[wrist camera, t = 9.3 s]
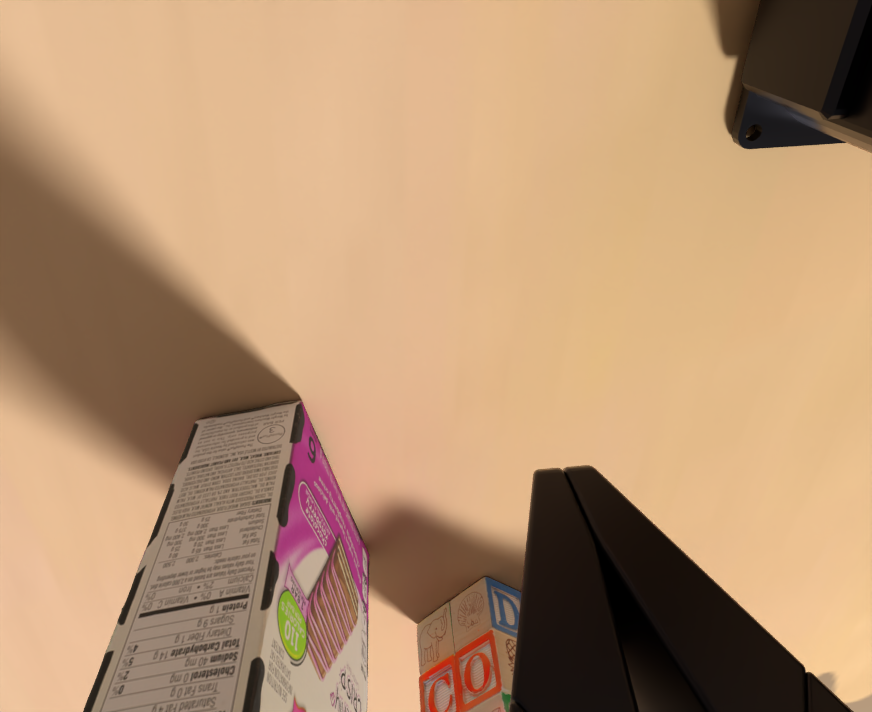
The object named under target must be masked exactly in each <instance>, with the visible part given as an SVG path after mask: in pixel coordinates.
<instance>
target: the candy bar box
mask: <svg viewBox="0 0 872 712" xmlns="http://www.w3.org/2000/svg"><path fill="white" fill-rule="evenodd" d="M368 592H369V553H368V551H367V549H366V546H365V544H364V542H363V540H362V538H361V536H360V533H359V531H358V529H357V526H356V524H355V522H354V520H353V518H352V516H351V514H350V511H349V509H348V507H347V505H346V502H345V500H344V497H343V495H342V493H341V490H340V488H339V486H338V483H337V481H336V479H335V477H334V474H333V472H332V470H331V468H330V465H329V463H328V461H327V459H326V456H325V454H324V452H323V449H322V447H321V444H320V442H319V440H318V438H317V435H316V433H315V431H314V429H313V426H312V424H311V421H310V419H309V417H308V414H307V412H306V410H305V407H304V405H303V402H302V401H300V400H299V401H289V402H284V403H277V404H272V405H269V406H265V407H262V408H257V409H253V410H248V411H243V412H236V413H230V414H225V415H219V416H214V417H210V418H205V419H199V420H197V421H195V423H194V426H193V429H192V431H191V434H190V437H189V439H188V442H187V445H186V447H185V449H184V452H183V454H182V457H181V460H180V462H179V465H178V467H177V470H176V472H175V475H174V477H173V480H172V483H171V485H170V488H169V491H168V494H167V496H166V499H165V501H164V504H163V506H162V509H161V511H160V514H159V517H158V520H157V522H156V525H155V527H154V530H153V533H152V535H151V538H150V541H149V543H148V546H147V548H146V550H145V552H144V555H143V558H142V560H141V562H140V565H139V568H138V570H137V573H136V576H135V578H134V581H133V584H132V587H131V590H130V592H129V595H128V598H127V600H126V602H125V605H124V606H123V608H122V612H121V614H120V616H119V619H118V622H117V625H116V627H115V630H114V632H113V635H112V638H111V640H110V643H109V645H108V648H107V650H106V653H105V655H104V658H103V661H102V664H101V667H100V670H99V672H98V675H97V678H96V680H95V683H94V685H93V688H92V690H91V693H90V695H89V697H88V700H87V703H86V705H85V708H84V711H83V712H367V700H368Z"/></svg>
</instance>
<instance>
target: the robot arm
mask: <svg viewBox="0 0 872 712" xmlns="http://www.w3.org/2000/svg"><path fill="white" fill-rule="evenodd" d="M741 82H742V84H743V89H742V93H741V97H740V101H739V105H738V109H737V113H736V117H735V121H734V125H733V129H732V138H733V141H734V142H735V143H736V144H738V145H739V146H741V147H743V148H746V149H757V148H773V147H788V146H803V145H819V144H834V143H849V144H851V145H854V146H856V147H858V148H861V149H863V150H865V151H868V152H870V153H872V0H761V1H760V5H759V9H758V13H757V17H756V21H755V25H754V29H753V33H752V37H751V41H750V45H749V49H748V53H747V57H746V61H745V65H744V70H743V74H742V78H741ZM752 125H755V131H754V132H753V134H752V135H751V136H749V137H746V132H747V130H748V129H749V128H750V127H751V126H752ZM509 712H853V711H852V710H851V709H850V708H849V707H848V706H847V705H845V704H844V703H843V702H842V701H841V700H840V699H839V698H838V697H837V696H836V695H835V694H834V693H833V692H832V691H831V690H829V689H828V688H827V687H826V686H825V685H824V684H823V683H822V682H821V681H820V680H819V679H818V678H817V677H816V676H815V675H814V674H812V673H811V672H806V671H805V667H804V665H803V664H802V663H801V662H799V661H798V660H797V659H796V658H795V657H794V656H793V655H792V654H791V653H790V652H789V651H788V650H787V649H786V648H785V647H784V646H783V645H781V644H780V643H779V642H778V641H777V640H776V639H775V638H774V637H773V636H772V635H771V634H770V633H769V632H768V631H767V630H766V629H765V628H763V627H762V626H761V625H760V624H759V623H758V622H757V621H756V620H755V619H754V618H753V617H752V616H751V615H750V614H749V613H748V612H747V611H745V610H744V609H743V608H742V607H741V606H740V605H739V604H738V603H737V602H736V601H735V600H734V599H733V598H732V597H731V596H730V595H729V594H728V593H726V592H725V591H724V590H723V589H722V588H721V587H720V586H719V585H718V584H717V583H716V582H715V581H714V580H713V579H712V578H711V577H710V576H708V575H707V574H706V573H705V572H704V571H703V570H702V569H701V568H700V567H699V566H698V565H697V564H696V563H695V562H694V561H693V560H692V559H690V558H689V557H688V556H687V555H686V554H685V553H684V552H683V551H682V550H681V549H680V548H679V547H678V546H677V545H676V544H675V543H674V542H672V541H671V540H670V539H669V538H668V537H667V536H666V535H665V534H664V533H663V532H662V531H661V530H660V529H659V528H658V527H657V526H656V525H655V524H653V523H652V522H651V521H650V520H649V519H648V518H647V517H646V516H645V515H644V514H643V513H642V512H641V511H640V510H639V509H638V508H637V507H635V506H634V505H633V504H632V503H631V502H630V501H629V500H628V499H627V498H626V497H625V496H624V495H623V494H622V493H621V492H620V491H619V490H617V489H616V488H615V487H614V486H613V485H612V484H611V483H610V482H609V481H608V480H607V479H606V478H605V477H604V476H603V475H602V474H601V473H599V472H598V471H597V470H596V469H595V468H594V467H592V466H589V465H584V466H573V467H566V468H564V469H563V470H562V469H560V468H550V469H539V470H536V471H535V472H534V474H533V484H532V493H531V503H530V513H529V523H528V532H527V542H526V552H525V562H524V572H523V581H522V591H521V601H520V611H519V620H518V630H517V640H516V650H515V659H514V669H513V679H512V689H511V699H510V706H509Z"/></svg>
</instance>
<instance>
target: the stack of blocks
mask: <svg viewBox="0 0 872 712" xmlns="http://www.w3.org/2000/svg"><path fill="white" fill-rule="evenodd" d="M520 601H521V592H519V591H517V590H515V589H513V588H511V587H509V586H506V585H504V584H502V583H499V582H498V581H495V580H493V579H491V578H489V577H484V578H482V579H480V580H479V581H478V582H476V583H475V584H473V585H472V586H470V587H469V588H468V589H466V590H465V591H463V592H462V593H461V594H459V595H458V596H456V597H455V598H454V599H452V600H451V601H450V602H447V603H446V604H444V605H443V606H442V607H440V608H439V609H438V610H436V611H435V612H434V613H432V614H431V615H429V616H428V617H426V618H425V619H424V620H422V621H421V622H420V623H419V624H418V625H417V642H418V657H419V670H420V677H419V688H420V705H421V712H509V706H510V699H511V689H512V679H513V669H514V659H515V650H516V640H517V630H518V620H519V611H520Z"/></svg>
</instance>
